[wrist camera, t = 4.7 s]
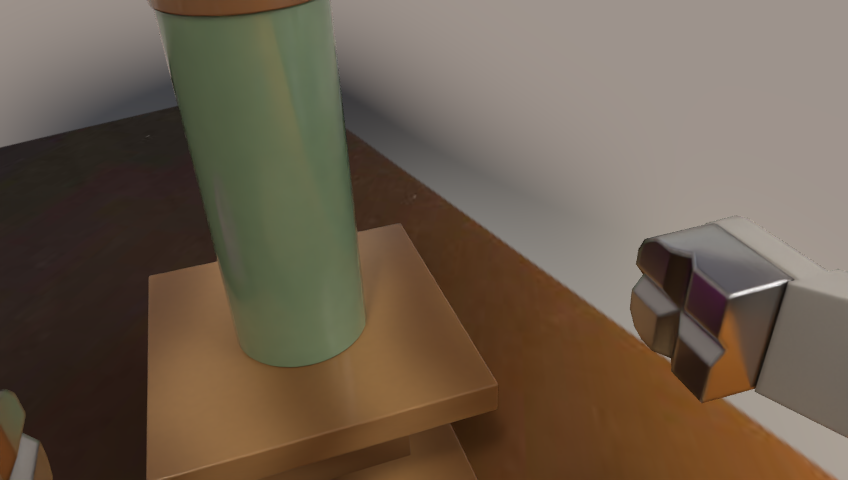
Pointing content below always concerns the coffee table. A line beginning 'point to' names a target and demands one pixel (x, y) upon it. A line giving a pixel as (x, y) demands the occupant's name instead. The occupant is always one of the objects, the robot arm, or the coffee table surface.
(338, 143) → the jar
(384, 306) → the stand
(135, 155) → the coffee table surface
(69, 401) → the coffee table surface
